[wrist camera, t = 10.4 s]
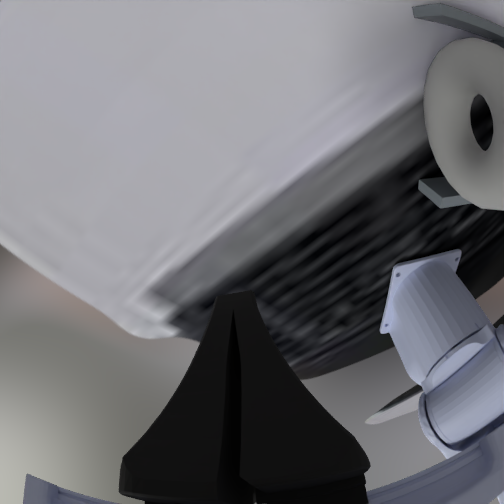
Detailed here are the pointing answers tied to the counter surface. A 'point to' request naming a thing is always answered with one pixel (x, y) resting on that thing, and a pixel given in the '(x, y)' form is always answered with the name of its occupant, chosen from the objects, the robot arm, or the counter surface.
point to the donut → (467, 118)
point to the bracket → (466, 21)
